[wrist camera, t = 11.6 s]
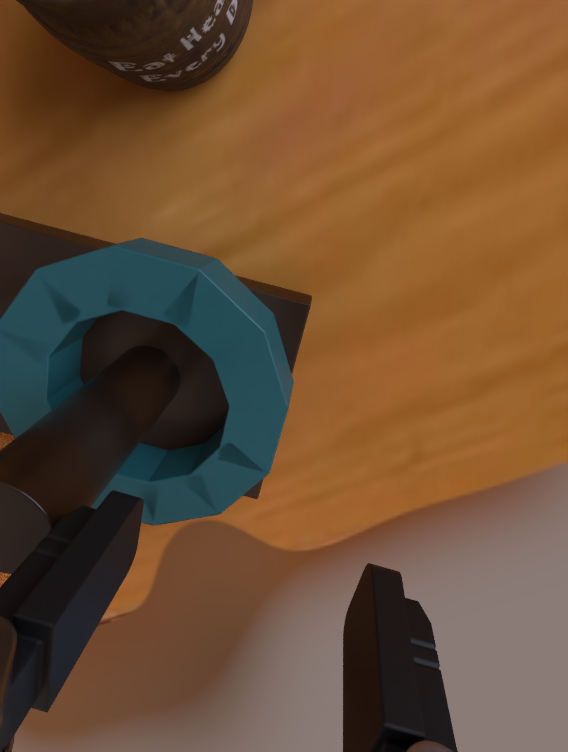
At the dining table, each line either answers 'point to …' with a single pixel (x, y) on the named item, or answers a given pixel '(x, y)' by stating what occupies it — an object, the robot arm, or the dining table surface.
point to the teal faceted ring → (191, 316)
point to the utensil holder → (149, 36)
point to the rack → (109, 395)
